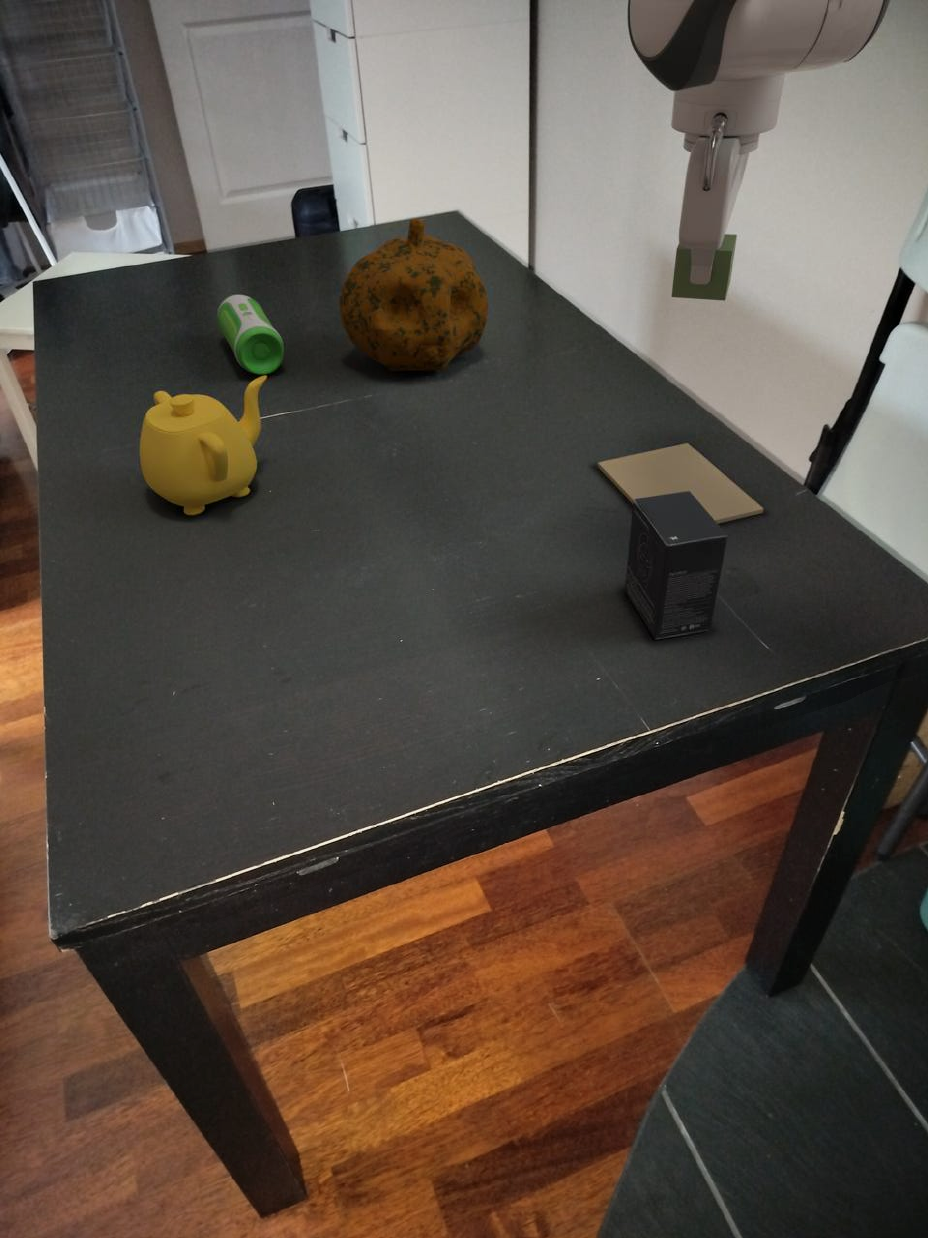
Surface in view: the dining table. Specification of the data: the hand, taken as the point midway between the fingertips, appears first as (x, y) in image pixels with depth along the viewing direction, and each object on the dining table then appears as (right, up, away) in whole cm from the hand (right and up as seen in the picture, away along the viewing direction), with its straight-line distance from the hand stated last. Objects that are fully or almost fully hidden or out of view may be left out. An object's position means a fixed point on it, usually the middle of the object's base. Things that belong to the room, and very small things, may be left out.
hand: (703, 270), depth 82 cm
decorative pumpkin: (-30, +6, +47) cm, 56 cm away
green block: (0, -1, +1) cm, 2 cm away
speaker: (-55, +7, +50) cm, 75 cm away
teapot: (-52, -17, +21) cm, 59 cm away
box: (-4, -33, -1) cm, 33 cm away
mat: (+1, -19, +16) cm, 24 cm away
